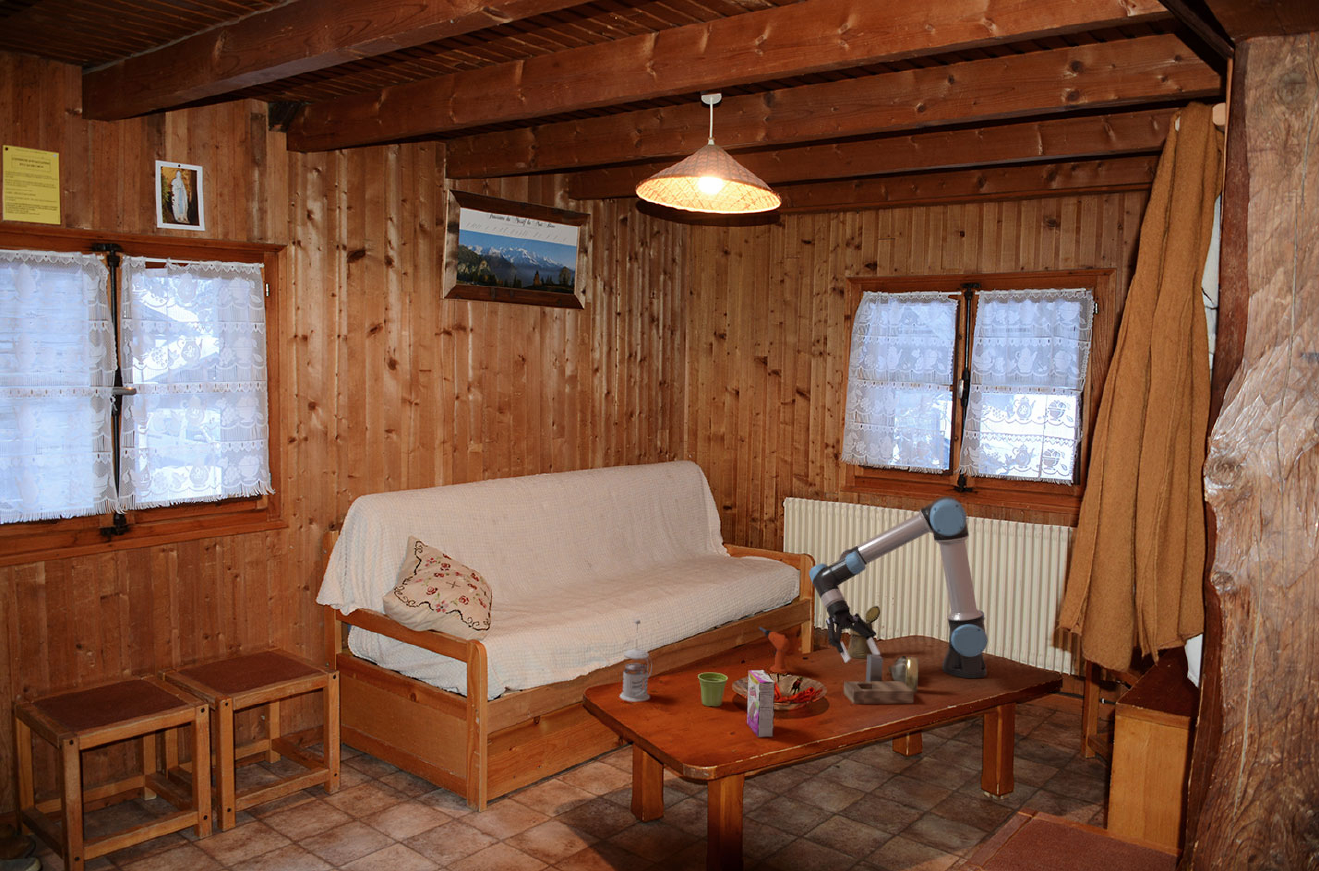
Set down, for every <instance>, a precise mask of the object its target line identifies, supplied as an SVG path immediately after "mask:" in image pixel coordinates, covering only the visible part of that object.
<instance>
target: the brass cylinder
mask: <svg viewBox="0 0 1319 871" xmlns="http://www.w3.org/2000/svg"><path fill="white" fill-rule="evenodd" d="M906 658H907V659H906V676H905V684H906V685H907V686H908V687H910V688H911V689H912V690H913V691H914V694H916V693H918V680H919V672H918V670H919V666H920V664H919V663H920V659H919V658H918V657H916V656H915V657H914V656H908V657H906Z"/></svg>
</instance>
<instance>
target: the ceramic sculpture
mask: <svg viewBox="0 0 1319 871" xmlns="http://www.w3.org/2000/svg"><path fill="white" fill-rule="evenodd" d="M906 659H907V657H906V655H902V656H901V657H899V658H897V659H895V661H894V663H893V664H892V665H889V666H887V669H888V671H889V673H890V674H891V677H892V679H893V681H903V682H904V683H905V676H906ZM919 672H920V671H919V669H918V673H919Z"/></svg>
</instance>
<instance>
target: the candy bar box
mask: <svg viewBox="0 0 1319 871" xmlns="http://www.w3.org/2000/svg"><path fill="white" fill-rule="evenodd" d="M747 676H748V677H747V678H748V679H747V680H748V681H747V682H748V683H747V710H746V712H747V713H746V725H747V726H748V727H749V728H750V729H751V730H752V731H753V733H754V734H755V735H756V737H757V738H773V737H774V717H775V714H774V713H775V687H776V682H775V680H773V679H772V677H770V675H769V674H768V673H767V672H766V671H765V670H763V669H754V670H748V675H747Z"/></svg>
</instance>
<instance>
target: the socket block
mask: <svg viewBox="0 0 1319 871" xmlns="http://www.w3.org/2000/svg"><path fill="white" fill-rule="evenodd" d="M843 683H844V684H843V695H845V697H846V698H848V700H849V701H850V702H851V703H852V704H855V705H856V704H857V705H859V704H863V705H864V704H865V705H866V704H867V705H868V704H872V705H873V704H914V699H915V698H914V695H915V693H914V691H913V690H912V689H911V688H910V687H908V686H907V685H906V684H905V683H904V682H903V681H895V680H889V681H888V680H887V681H886V680H882V681H866V680H865V681H863V680H861V681H854V680H853V681H848V680H847V681H843Z"/></svg>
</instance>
